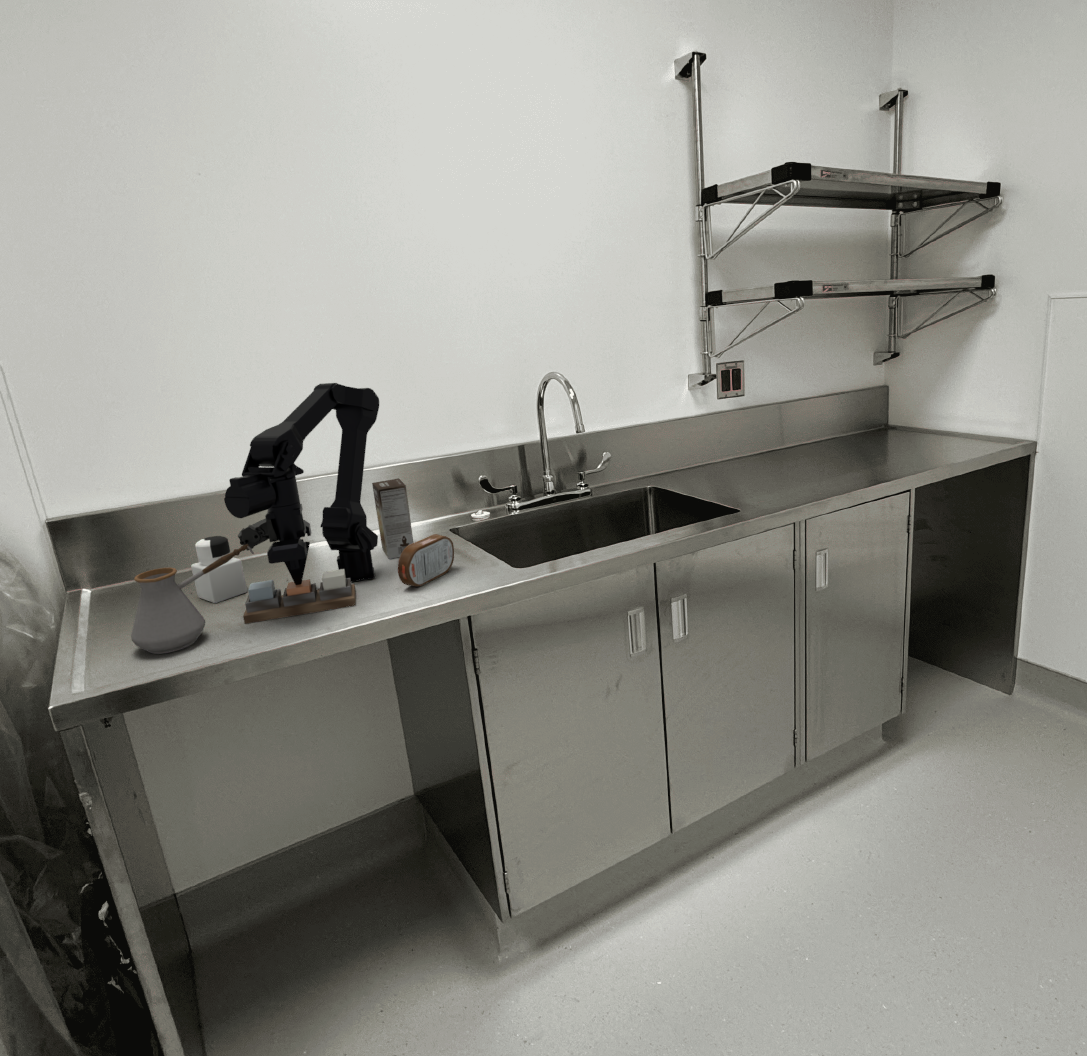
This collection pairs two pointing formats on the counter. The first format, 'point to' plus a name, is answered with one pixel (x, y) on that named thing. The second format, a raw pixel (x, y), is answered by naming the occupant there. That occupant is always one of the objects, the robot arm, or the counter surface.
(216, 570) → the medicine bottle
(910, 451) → the counter surface
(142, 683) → the counter surface
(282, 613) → the button panel
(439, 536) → the tin
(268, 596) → the slate button
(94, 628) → the counter surface
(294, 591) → the terracotta button
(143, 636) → the coffee pot
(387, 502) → the coffee box
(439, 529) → the counter surface
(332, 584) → the white button
